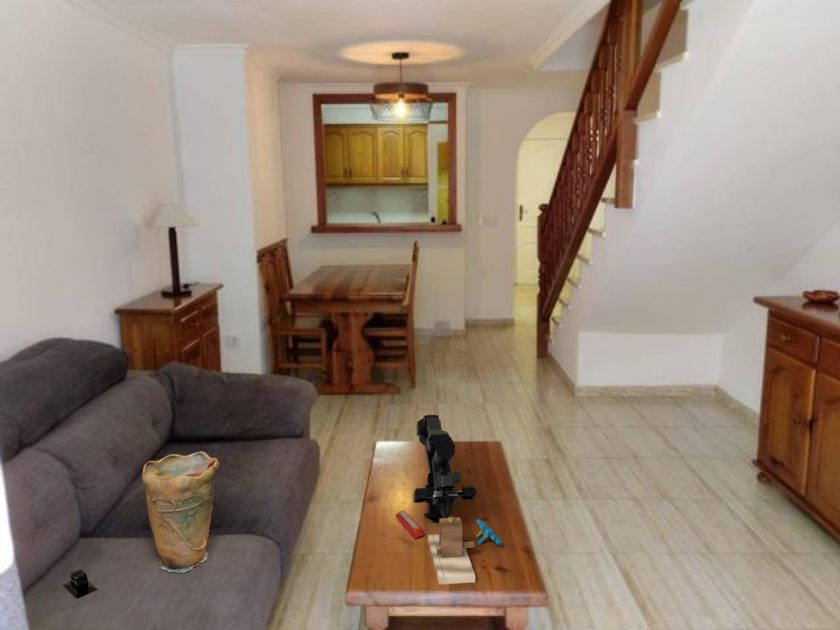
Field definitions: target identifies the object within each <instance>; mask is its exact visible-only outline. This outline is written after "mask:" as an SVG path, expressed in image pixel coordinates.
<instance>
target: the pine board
mask: <svg viewBox="0 0 840 630" xmlns="http://www.w3.org/2000/svg"><path fill="white" fill-rule="evenodd" d="M462 542H464V540H463V539H462ZM427 543H428V547H429V550H430V555H431V558H432V563H433V566H434V570H435V573H436V578H437V581H438V584H439V586H440V585H451V584H453V585H454V584H455V585H456V584H468V583H476V574H475V570H474V569H473V564H472V562H471V560H470V556H469V555H468V551H467V548H462V556H458V557H442V558H441V555H440V552H439V554H437V548H436V546H437V544H439V533H437V534H436V533H435V534H427Z"/></svg>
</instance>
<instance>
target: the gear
mask: <svg viewBox="0 0 840 630" xmlns="http://www.w3.org/2000/svg"><path fill="white" fill-rule="evenodd" d="M476 523H477V524H478V525H479V527H480V528H479V529H480V531H478V533H477V534H476V535H475V536H476V537H477V538H479V537H480V536H481V535H483V536H482V537H481V538H480V539H479V540H478V541H477V545H479V546H481V544H482V543H483V542H484V541H485V540H486V539H489V537H490V539H492V541H494V543H496V544H497V545H499V546H502V545H503V542H502V540H501V539H500V538H499V536H498V535H497V534H495V532H494V530H493V529H492V528H490V527H489V526H488V525H487V523H485V522H484V521H483V520H481V519H479V518H478V519H476Z"/></svg>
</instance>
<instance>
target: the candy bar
mask: <svg viewBox="0 0 840 630" xmlns="http://www.w3.org/2000/svg"><path fill="white" fill-rule="evenodd" d="M395 517H396V520H397V521H398V522H399V524H400V523H401V524H400V525H401V526H402V528H404V529H405V530H406V532H407V533H408V534H409V535H410V536H411V537H412V538H413V539H415V540H416V539H418V538H419V537H422V536H424V532H423V530H422V528H421V527H420V526H419V524H417V522H416V521H415V520H414V519H413V518H412V516H410V515H409V514H408V513H407V512H406V511H405V510H401V511H399V512H397V513H396V514H395Z"/></svg>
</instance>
